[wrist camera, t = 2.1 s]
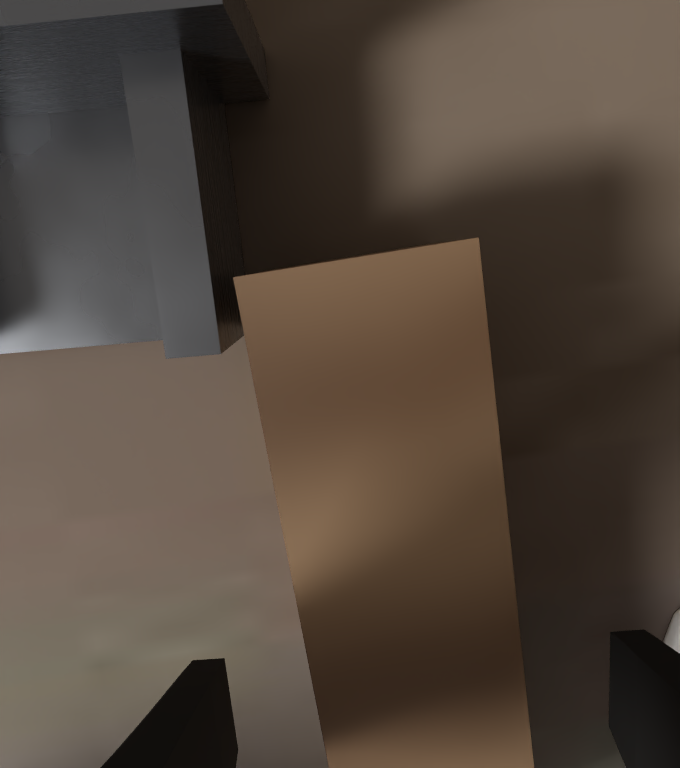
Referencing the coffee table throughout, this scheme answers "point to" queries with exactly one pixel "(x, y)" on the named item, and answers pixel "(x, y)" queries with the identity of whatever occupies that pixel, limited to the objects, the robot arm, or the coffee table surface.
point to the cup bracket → (121, 172)
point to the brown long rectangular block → (393, 503)
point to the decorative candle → (673, 632)
